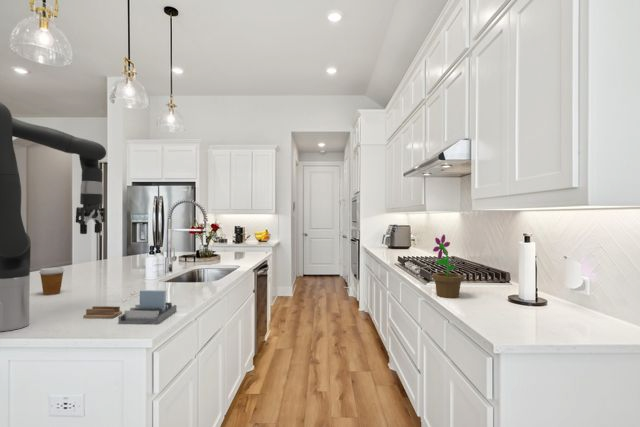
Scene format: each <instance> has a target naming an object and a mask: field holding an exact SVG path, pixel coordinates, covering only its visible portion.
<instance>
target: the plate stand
mask: <svg viewBox="0 0 640 427" xmlns="http://www.w3.org/2000/svg"><path fill="white" fill-rule="evenodd" d="M121 315H123V311H122V310H121V306H113V305H111V306H109V305H107V306H105V305H102V306H101V305H100V306H92V307H91V308H86V309H85V314H83V315H82V317H83V319H115V318H118V317H119V316H121Z"/></svg>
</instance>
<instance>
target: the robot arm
mask: <svg viewBox="0 0 640 427" xmlns="http://www.w3.org/2000/svg"><path fill="white" fill-rule="evenodd" d="M13 138H18V139H21V140H24V141H29V142H32V143H36V144H39V145H41V146H44V147H48V148H51V149H53V150H57V151H60V152H63V153H66V154H70V155H71V154H75V155H78V158H79V163H80V167H81V183H80V194H79V195H80V196H79V197H80V198H79V203H80V205H82V206H77V207H75V208H76V211H75V223H78V225H79V233H80V235H86V234H88V222H89V221H91V220H93V221H94V233H96V234H101V232H102V224H103V223H105V222H106V209H105V207H100V206H102V205H103V201H104V200H103V199H104V197H103V196H104V195H103V193H104V186H103V170H102V168H100V166H99V165H100V164H99V161H101V160H103V159H105V158H106V156H107V150H106V148H105V147H104V146H103V145H102V144H101V143H99V142H97V141H95V140H94V141H93V140H90V139H85V138H81V137H77V136H74V135H72V134H69V133H68V132H67V133H66V132H64V131H60V130H58V129H55V128H52V127H48V126H42V125H37V124H33V123H29V122H26V121H23V120H21V119H20V120H19V119H17V118H15V117H13V115H12V113H11V110H10V109H9V108H8V107H7V105H5V104H4V103H2V102H0V332H5V331H6V332H7V331H14V330H18V329H22V328H25V327H27V326H29V325H30V283H31V282H30V278H31V277H30V274H31V273H30V270H31V250H32V249H31V247H32V246H31V237H30V235H29V234H28V233H27V232H26V230H25V225H24V223H23V218H22V217H23V216H22V186H21V179H20V178H21V177H20V173H19V167H18V161H17V157H16V156H17V155H16V153H15V148H14V142H13Z"/></svg>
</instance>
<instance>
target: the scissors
mask: <svg viewBox="0 0 640 427" xmlns="http://www.w3.org/2000/svg"><path fill="white" fill-rule="evenodd" d="M129 294H130V295H131V296H128V297H126V298H123V299H120V300H116V301H114V303H115V302H116V303H117V302H120V301H122V303H123V302H124V303H125V302H127V301H128V300H130V299H132V298H135V297H136V298H137V297H140V294H138V292H136V291H132V292H130V293H129ZM137 294H138V295H137ZM127 298H128V299H127ZM123 300H124V301H123Z"/></svg>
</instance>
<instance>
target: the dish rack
mask: <svg viewBox="0 0 640 427" xmlns="http://www.w3.org/2000/svg"><path fill="white" fill-rule="evenodd" d="M176 312H177V305H176V304H173V302H170V301H169V302H167V301H166V311H165V312H164V308H140V304H136V305H135V306H134V307H130V308H129V310H127V309H126V310H124V312H123V313H122V314H121V315H119V316H117V318H118V319H117V320H118V323H117V324H119V325H159V324H161V323H162V322H163V321H165V320H166V319H167V318H170V317H171V316H172V315H174V314H175V313H176Z"/></svg>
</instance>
